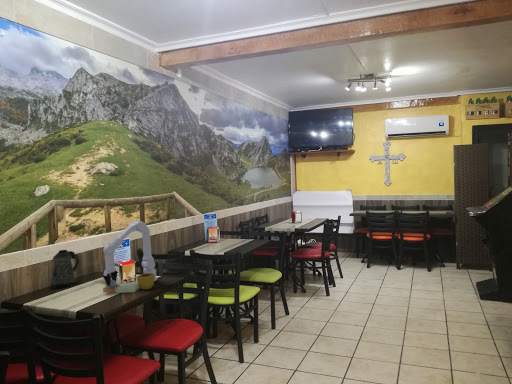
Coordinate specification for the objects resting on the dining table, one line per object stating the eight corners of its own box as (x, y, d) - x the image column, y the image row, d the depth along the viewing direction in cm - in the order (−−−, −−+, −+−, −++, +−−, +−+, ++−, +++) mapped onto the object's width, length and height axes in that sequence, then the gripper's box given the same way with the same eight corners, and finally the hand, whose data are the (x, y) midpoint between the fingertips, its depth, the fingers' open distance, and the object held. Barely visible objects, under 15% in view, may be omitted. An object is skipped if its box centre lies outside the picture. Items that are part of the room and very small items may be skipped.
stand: (108, 288, 264) (107, 285, 264) (120, 288, 263) (120, 284, 263) (103, 291, 258) (102, 287, 257) (116, 291, 256) (115, 287, 256)
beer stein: (45, 288, 276) (42, 252, 274) (66, 280, 294) (64, 247, 293) (64, 289, 270) (61, 253, 269) (84, 281, 289) (82, 247, 288)
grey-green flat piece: (123, 287, 265) (123, 282, 265) (141, 287, 263) (141, 282, 263) (116, 292, 254) (115, 287, 254) (134, 292, 252) (134, 286, 252)
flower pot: (148, 290, 254) (147, 277, 254) (136, 290, 257) (136, 276, 257) (156, 286, 262) (155, 273, 262) (144, 286, 265) (144, 273, 265)
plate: (107, 290, 261) (106, 279, 261) (117, 289, 260) (116, 279, 260) (106, 290, 260) (105, 280, 260) (116, 290, 259) (115, 279, 259)
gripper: (109, 261, 267) (111, 280, 268) (98, 266, 253) (100, 287, 253) (119, 261, 266) (120, 280, 267) (108, 265, 252) (110, 286, 252)
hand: (111, 283), depth 260 cm, fingers open, 7 cm apart
